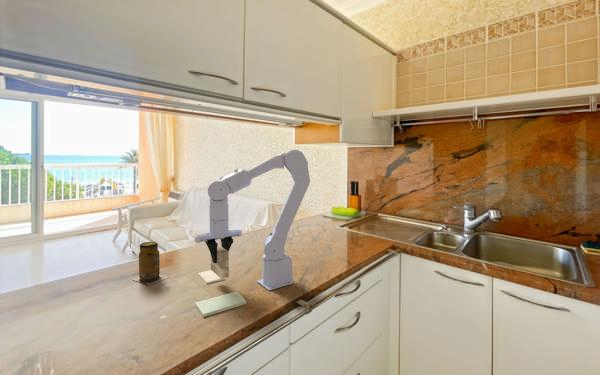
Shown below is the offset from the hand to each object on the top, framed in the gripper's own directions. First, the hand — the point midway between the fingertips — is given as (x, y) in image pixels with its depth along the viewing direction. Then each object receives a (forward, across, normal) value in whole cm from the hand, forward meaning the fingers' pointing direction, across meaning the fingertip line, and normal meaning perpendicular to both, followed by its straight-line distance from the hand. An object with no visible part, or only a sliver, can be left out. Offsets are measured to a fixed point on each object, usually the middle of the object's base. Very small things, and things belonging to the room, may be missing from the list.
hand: (219, 261), depth 88 cm
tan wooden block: (+4, 0, 0) cm, 4 cm away
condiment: (+8, +17, -18) cm, 26 cm away
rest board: (+8, +4, +12) cm, 15 cm away
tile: (+8, 0, -3) cm, 9 cm away
